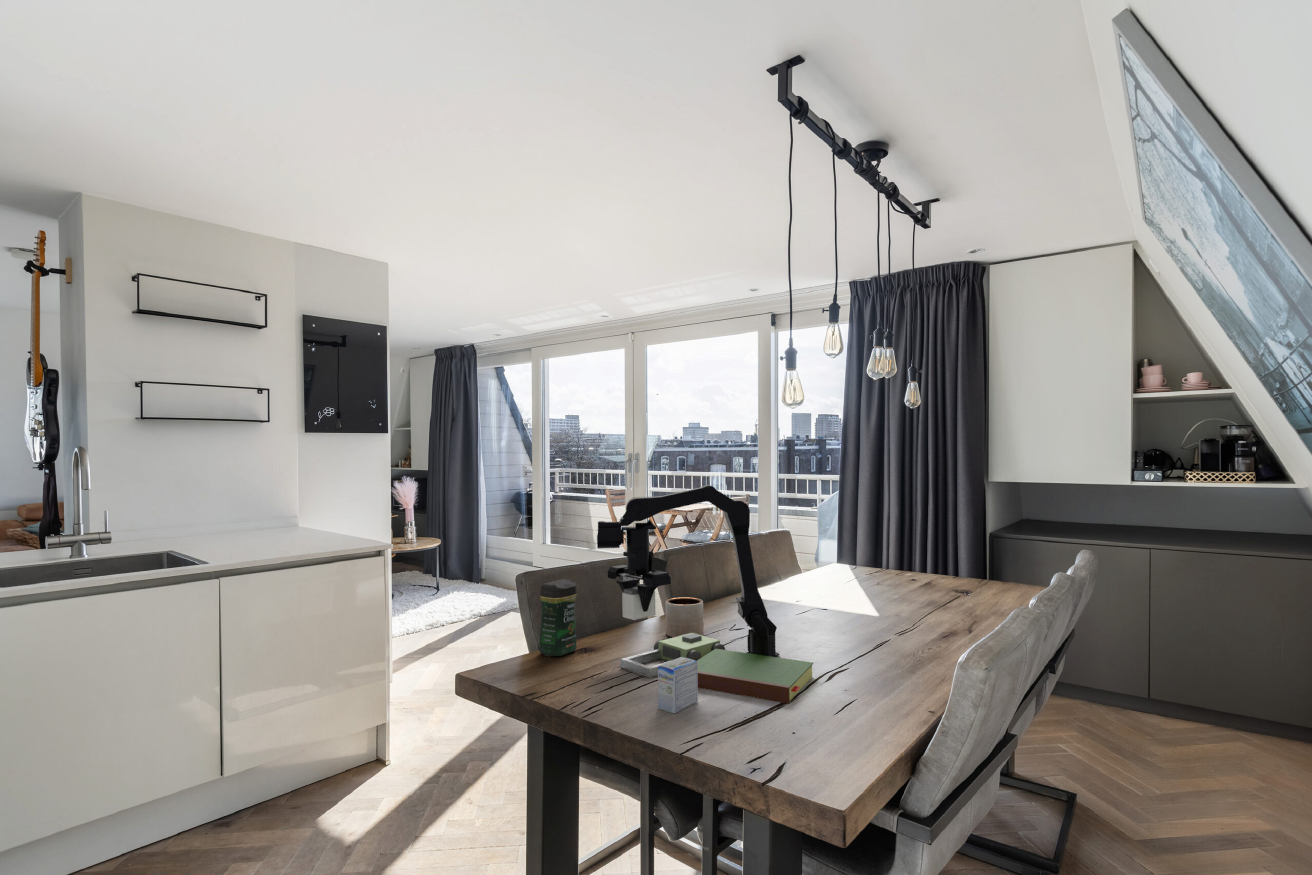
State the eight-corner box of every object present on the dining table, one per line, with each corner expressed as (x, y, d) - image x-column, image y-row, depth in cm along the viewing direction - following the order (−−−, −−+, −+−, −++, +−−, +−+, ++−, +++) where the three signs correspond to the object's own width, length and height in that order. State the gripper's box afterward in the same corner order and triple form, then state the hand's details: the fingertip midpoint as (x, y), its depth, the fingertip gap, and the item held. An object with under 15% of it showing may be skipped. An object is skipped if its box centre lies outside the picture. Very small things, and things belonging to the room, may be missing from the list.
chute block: (655, 615, 167) (655, 587, 167) (634, 619, 162) (633, 591, 162) (644, 612, 170) (643, 584, 170) (622, 616, 165) (622, 588, 166)
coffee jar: (558, 659, 165) (558, 584, 166) (534, 654, 169) (534, 582, 170) (582, 649, 174) (582, 578, 174) (558, 645, 178) (558, 576, 178)
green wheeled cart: (725, 657, 166) (725, 637, 166) (690, 668, 158) (689, 647, 158) (687, 646, 176) (687, 627, 176) (652, 656, 168) (652, 636, 168)
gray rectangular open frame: (686, 666, 159) (686, 658, 159) (649, 677, 151) (649, 668, 151) (657, 657, 167) (657, 649, 167) (620, 667, 159) (620, 658, 159)
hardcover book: (682, 687, 146) (682, 670, 146) (715, 663, 163) (715, 648, 163) (792, 706, 134) (792, 688, 134) (816, 679, 151) (816, 662, 151)
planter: (660, 638, 184) (660, 603, 185) (671, 628, 195) (671, 596, 195) (698, 641, 181) (698, 605, 182) (707, 631, 192) (707, 597, 192)
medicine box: (681, 697, 138) (680, 656, 139) (698, 702, 135) (698, 660, 136) (657, 709, 132) (657, 665, 132) (674, 714, 129) (674, 669, 130)
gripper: (686, 547, 165) (688, 610, 164) (639, 541, 179) (640, 599, 178) (652, 552, 157) (654, 618, 157) (606, 545, 171) (607, 606, 171)
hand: (639, 609), depth 166 cm, fingers closed on chute block, 4 cm apart
